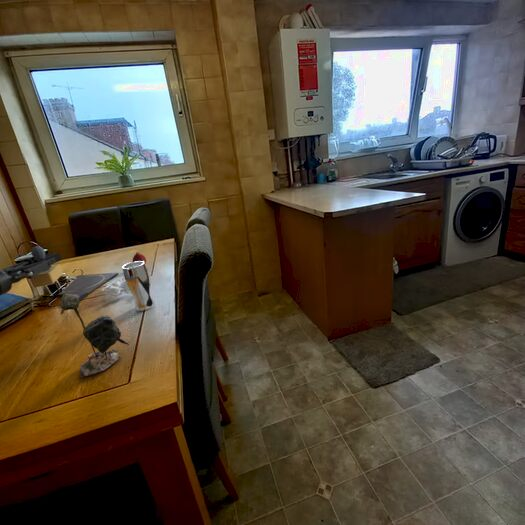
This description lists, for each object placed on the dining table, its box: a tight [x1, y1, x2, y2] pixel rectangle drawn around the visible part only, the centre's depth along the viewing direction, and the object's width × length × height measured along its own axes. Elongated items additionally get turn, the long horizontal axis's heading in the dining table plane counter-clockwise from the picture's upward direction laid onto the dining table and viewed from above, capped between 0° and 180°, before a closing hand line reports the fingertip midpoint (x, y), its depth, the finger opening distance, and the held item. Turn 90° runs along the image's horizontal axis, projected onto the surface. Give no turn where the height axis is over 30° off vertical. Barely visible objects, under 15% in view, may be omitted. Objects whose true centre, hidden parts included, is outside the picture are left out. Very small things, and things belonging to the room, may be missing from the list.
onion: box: [132, 251, 147, 265], centre depth 129 cm, size 6×6×8 cm
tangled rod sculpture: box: [100, 277, 132, 297], centre depth 110 cm, size 19×14×4 cm
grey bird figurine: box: [59, 294, 130, 378], centre depth 63 cm, size 8×11×20 cm
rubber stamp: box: [29, 245, 64, 289], centre depth 92 cm, size 10×6×12 cm, turn 18°
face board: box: [57, 272, 119, 297], centre depth 118 cm, size 20×20×1 cm
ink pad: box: [60, 292, 88, 302], centre depth 104 cm, size 7×5×2 cm
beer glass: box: [121, 261, 156, 312], centre depth 90 cm, size 7×7×15 cm
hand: (55, 256), depth 97 cm, fingers closed on rubber stamp, 2 cm apart
